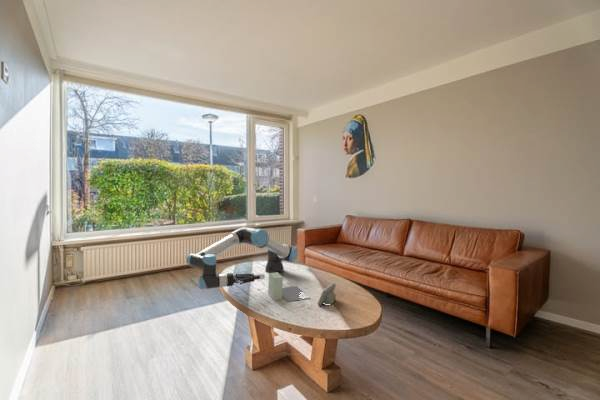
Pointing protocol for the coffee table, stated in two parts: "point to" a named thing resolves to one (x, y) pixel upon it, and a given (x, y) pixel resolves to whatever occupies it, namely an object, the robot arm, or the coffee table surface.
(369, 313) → the coffee table surface
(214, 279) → the robot arm
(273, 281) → the sage block
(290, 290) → the felt pad
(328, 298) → the digital clock
